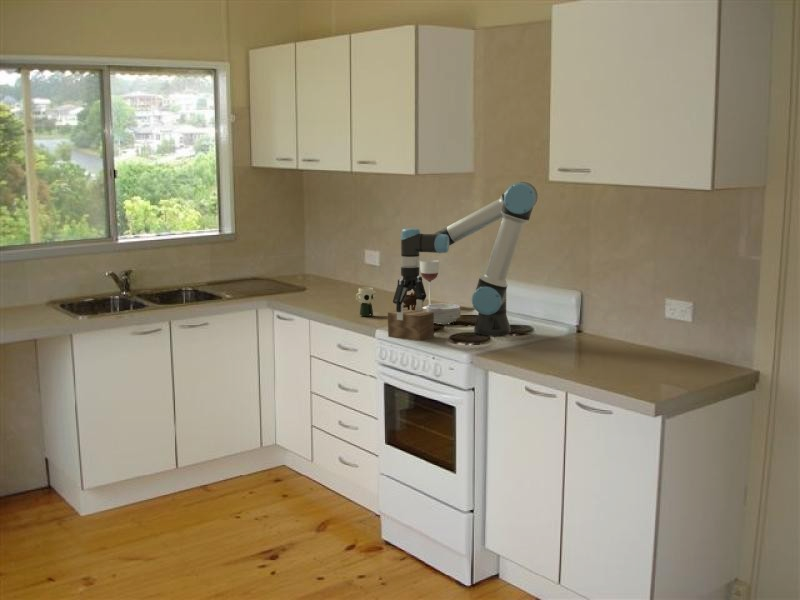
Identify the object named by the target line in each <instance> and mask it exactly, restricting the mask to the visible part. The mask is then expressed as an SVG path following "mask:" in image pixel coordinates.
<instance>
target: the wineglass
mask: <svg viewBox="0 0 800 600" xmlns="http://www.w3.org/2000/svg"><path fill="white" fill-rule="evenodd" d="M419 264H420V265H419V271H420V275H421V277H422V279H424V280H426V281H428V305H429V304H432V303H431V294H432V293H431V291H432V289H431V284H432V281H433V280H434V281H435V279H436V278H438V275H439V270H440V260H437V259H424V260H423V259H421V260H419ZM423 306H424V305H423ZM426 307H427V305H426V306H424V307H423V309H424V310H427V308H426Z"/></svg>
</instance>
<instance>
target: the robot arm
mask: <svg viewBox="0 0 800 600" xmlns="http://www.w3.org/2000/svg"><path fill="white" fill-rule="evenodd" d="M537 201H538V192H537V190H536V188H535V186H534V185H532V184H531V183H529V182H525V181H521V182H515V183H513V184H511V185H509V187H508V188H507V189H506V191H505V192H504V193H502V194H501V195H500V198H498V199H496V200H494V201H492V202H490V203H489V204H487V205H485V206H483V207H481V208H480V209H478V210H476V211H474V212H472V213H470V214H468V215H466V216H464V217H463V218H461V219H459V220H457V221H455V222H453V223H451V224H449V225H447V226H446V227H444V228H442V229H440V230H438V231H436V232H434V233H421V231H420V229H419V228H411V227H409V228H403V229H402V230H401V235H400V236H401V238H400V251H401V252H400V253H401V254H400V265H401V267H400V276H401V277H402V279H397V285H396V289H395V292H394V295H393V300H392V303H393V304H394V305H396V309H395V311H397V320H403V309H404V308H403V305H404V303H402V302H403V300H404V298H405V296H406V294H407V295H408V292H410V291H409V289H412V292H413V294H414V293H415V295H416V296H417V298H418V299H419V300H418V299H417V300H416V308H415V310H416V311H424V310H423V306H424V302H423V300H424V301H426V298H427V294H426V290H425V287H424V282H423V277H422V276H420V253H433V254H434V253H436V254H444V253H445V254H446V253H448V252H449V249H450V246H452V245H454V244H455V243H457V242H459V241H461V240H463V239H465V238H467V237H469V236H470V235H471V236H472V235H473V234H475V233H476V232H479V231H481V230H482V229H484V228H486V227H487V226H489V225H492V224H494V223H495V222H498V221H499V220H501V219H502V220H501V222H500V225H499V228H498V232H497V235H496V237H495V242H494V245H493V248H492V250H491V253H490V256H489V260H488V264H487V267H486V269H485V272H484V274H483V275H480V277H478V278H479V279H478V281H477V283H476V287H475V290H474V291H473V293H472V297H471V304H472V306H473V309H474V310H475V311H476V312H478V313H477V314H478V315H477V318H476V321H475V325H474V327H473V332H474V334H476V333H478V334H477V335H479V334H483V335H482V336H486V335H487V337H489V336H490V337H491V336H492V337H495V336H498V337H499V336H505V335H510V334H511V325H510V322H509V320H508V315H507V289H508V284H507V280H506V279H507V278H508V277H507V276H508V272H509V270H510V267H511V264H512V262H513V258H514V255H515V252H516V249H517V245H518V242H519V240H520V236H521V233H522V230H523V228H524V225H525V224H526V223H528V222H529V221H530V218H531V215H532V212H533V209H534V207H535V205H536V204H537ZM404 287H405V288H404ZM509 333H510V334H509Z"/></svg>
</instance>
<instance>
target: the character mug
mask: <svg viewBox="0 0 800 600" xmlns="http://www.w3.org/2000/svg"><path fill="white" fill-rule="evenodd" d="M376 298H377V292H376V291H374V288H373V287H359V288H358V293H356V294H355V300H356V301H358V302H359V303H361V304H360V308H359V309H360V310H359V315H360V316H362V317H370V316H374V311H373V302H374V300H375V299H376Z"/></svg>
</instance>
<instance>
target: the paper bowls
mask: <svg viewBox="0 0 800 600" xmlns="http://www.w3.org/2000/svg"><path fill="white" fill-rule="evenodd" d="M426 306H427V307H426V308H427V309H426V310H425V312H433V313H434V322H436V323H441V324H448V323H451V322H453V321H455V322H456V321H457V319H458V318H459V319H460V318H461V312H462V311H461V305H459V304H455V303H441V302H440V303H439V302H438V303H431V304H429V303H428V304H427V305H426ZM448 325H449V324H448Z"/></svg>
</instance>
